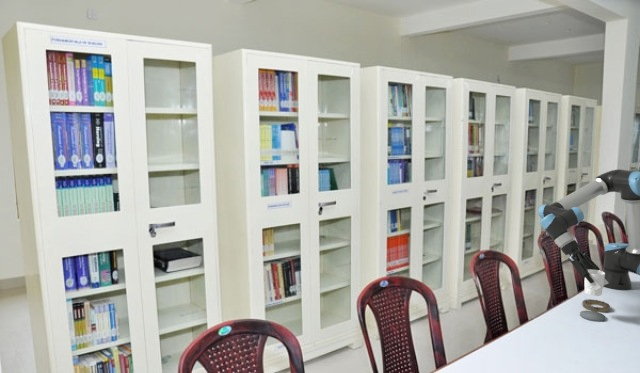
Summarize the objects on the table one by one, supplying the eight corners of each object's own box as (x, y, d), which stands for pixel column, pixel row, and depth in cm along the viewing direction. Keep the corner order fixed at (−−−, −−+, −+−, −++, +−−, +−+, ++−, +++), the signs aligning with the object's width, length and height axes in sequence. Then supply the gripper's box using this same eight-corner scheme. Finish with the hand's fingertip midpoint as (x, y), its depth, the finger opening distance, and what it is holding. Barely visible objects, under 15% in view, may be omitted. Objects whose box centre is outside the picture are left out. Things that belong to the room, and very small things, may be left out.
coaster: (584, 310, 220) (585, 308, 220) (608, 317, 212) (608, 315, 212) (576, 316, 213) (576, 314, 213) (600, 323, 206) (600, 321, 206)
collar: (587, 301, 231) (588, 297, 231) (612, 308, 223) (613, 304, 223) (578, 307, 224) (579, 303, 224) (604, 314, 216) (604, 310, 216)
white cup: (598, 290, 215) (600, 269, 214) (606, 296, 208) (608, 275, 206) (579, 289, 216) (581, 268, 215) (587, 296, 209) (589, 274, 207)
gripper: (570, 244, 228) (603, 285, 218) (551, 252, 215) (586, 296, 205) (582, 236, 223) (617, 277, 213) (564, 243, 210) (600, 287, 200)
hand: (602, 286), depth 209 cm, fingers closed on white cup, 8 cm apart
